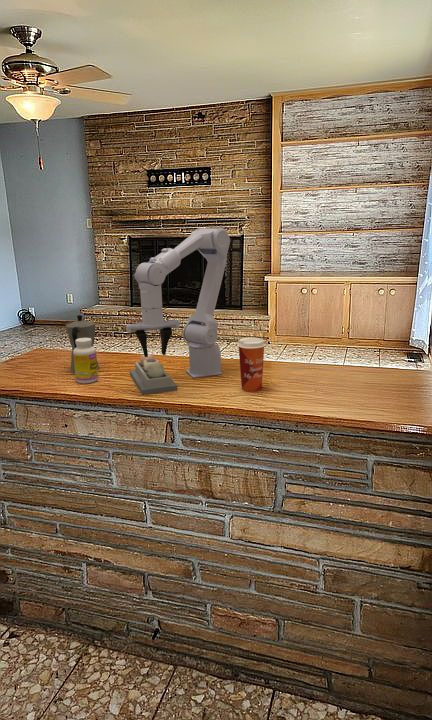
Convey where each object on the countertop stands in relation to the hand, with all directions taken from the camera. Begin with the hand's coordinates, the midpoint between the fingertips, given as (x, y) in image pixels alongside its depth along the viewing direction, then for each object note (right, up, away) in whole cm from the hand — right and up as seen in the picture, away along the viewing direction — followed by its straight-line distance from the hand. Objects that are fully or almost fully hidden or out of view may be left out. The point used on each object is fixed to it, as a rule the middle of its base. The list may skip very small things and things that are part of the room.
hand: (154, 355), depth 144 cm
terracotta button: (-4, -3, +13) cm, 14 cm away
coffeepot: (-25, -5, +21) cm, 34 cm away
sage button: (0, -6, +2) cm, 6 cm away
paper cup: (+27, -10, +1) cm, 29 cm away
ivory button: (-2, -5, +7) cm, 9 cm away
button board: (-2, -8, +8) cm, 12 cm away
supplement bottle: (-22, -8, +11) cm, 26 cm away
